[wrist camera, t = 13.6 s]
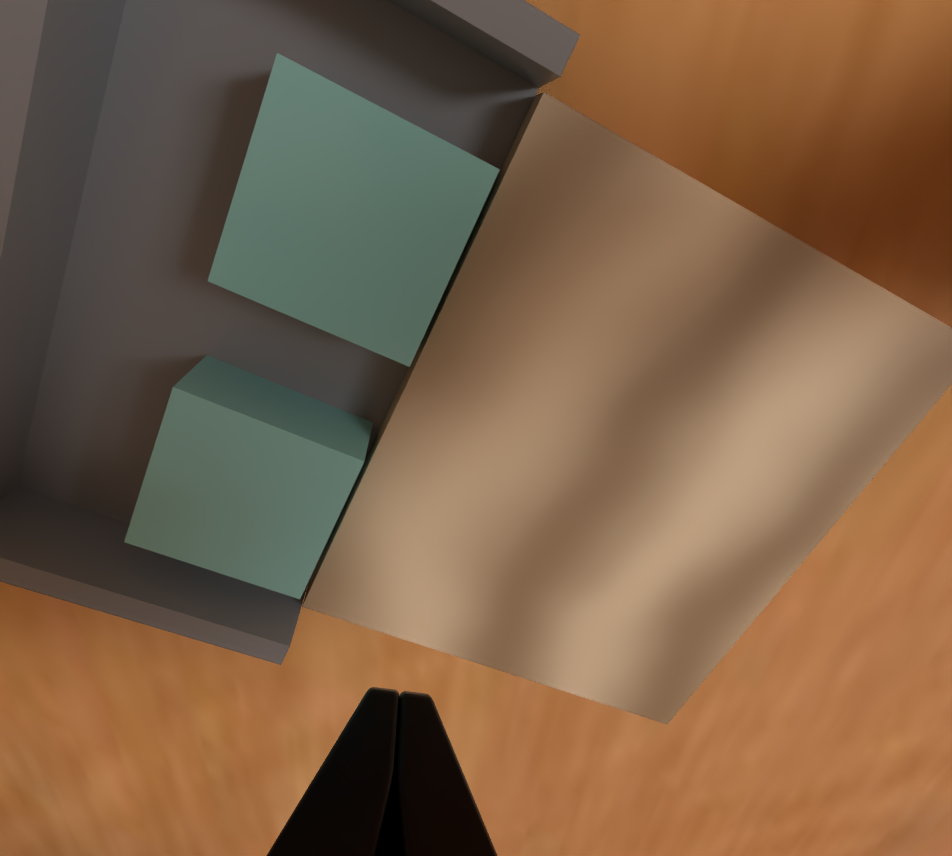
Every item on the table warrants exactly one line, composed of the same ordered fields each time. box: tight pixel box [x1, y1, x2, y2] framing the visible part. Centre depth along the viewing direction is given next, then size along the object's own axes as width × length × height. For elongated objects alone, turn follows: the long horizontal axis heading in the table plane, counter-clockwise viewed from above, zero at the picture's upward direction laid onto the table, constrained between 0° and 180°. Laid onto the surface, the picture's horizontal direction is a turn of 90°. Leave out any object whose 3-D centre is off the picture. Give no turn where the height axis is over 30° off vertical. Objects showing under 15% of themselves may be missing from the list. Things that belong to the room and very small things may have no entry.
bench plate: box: [302, 92, 952, 724], centre depth 19 cm, size 14×16×2 cm
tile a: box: [208, 53, 500, 367], centre depth 15 cm, size 5×5×2 cm
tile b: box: [124, 355, 373, 599], centre depth 18 cm, size 5×5×2 cm
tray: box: [0, 0, 580, 665], centre depth 16 cm, size 10×18×4 cm, turn 154°
